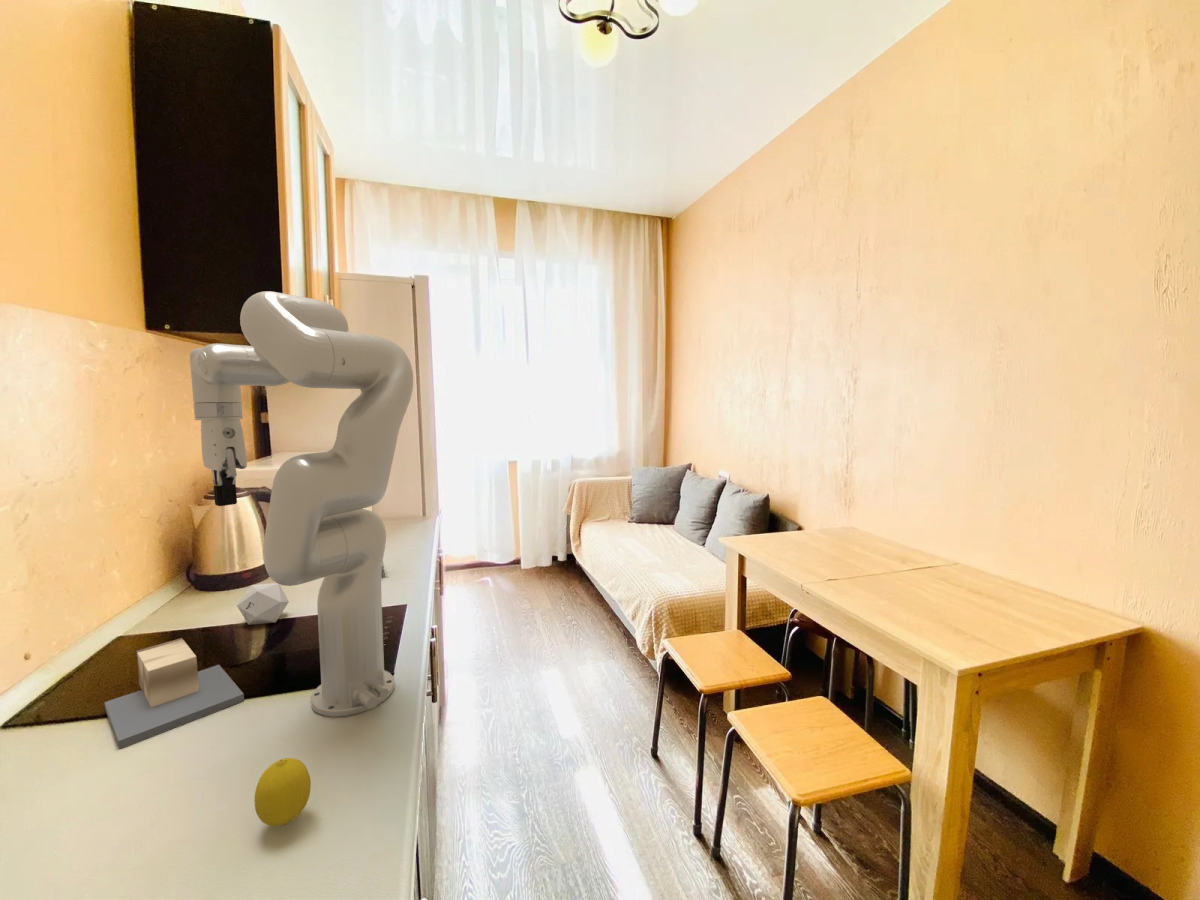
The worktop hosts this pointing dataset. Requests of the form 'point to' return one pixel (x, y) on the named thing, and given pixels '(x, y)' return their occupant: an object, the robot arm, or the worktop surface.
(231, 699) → the mat
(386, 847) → the worktop surface
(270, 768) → the lemon
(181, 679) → the birch block
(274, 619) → the die
